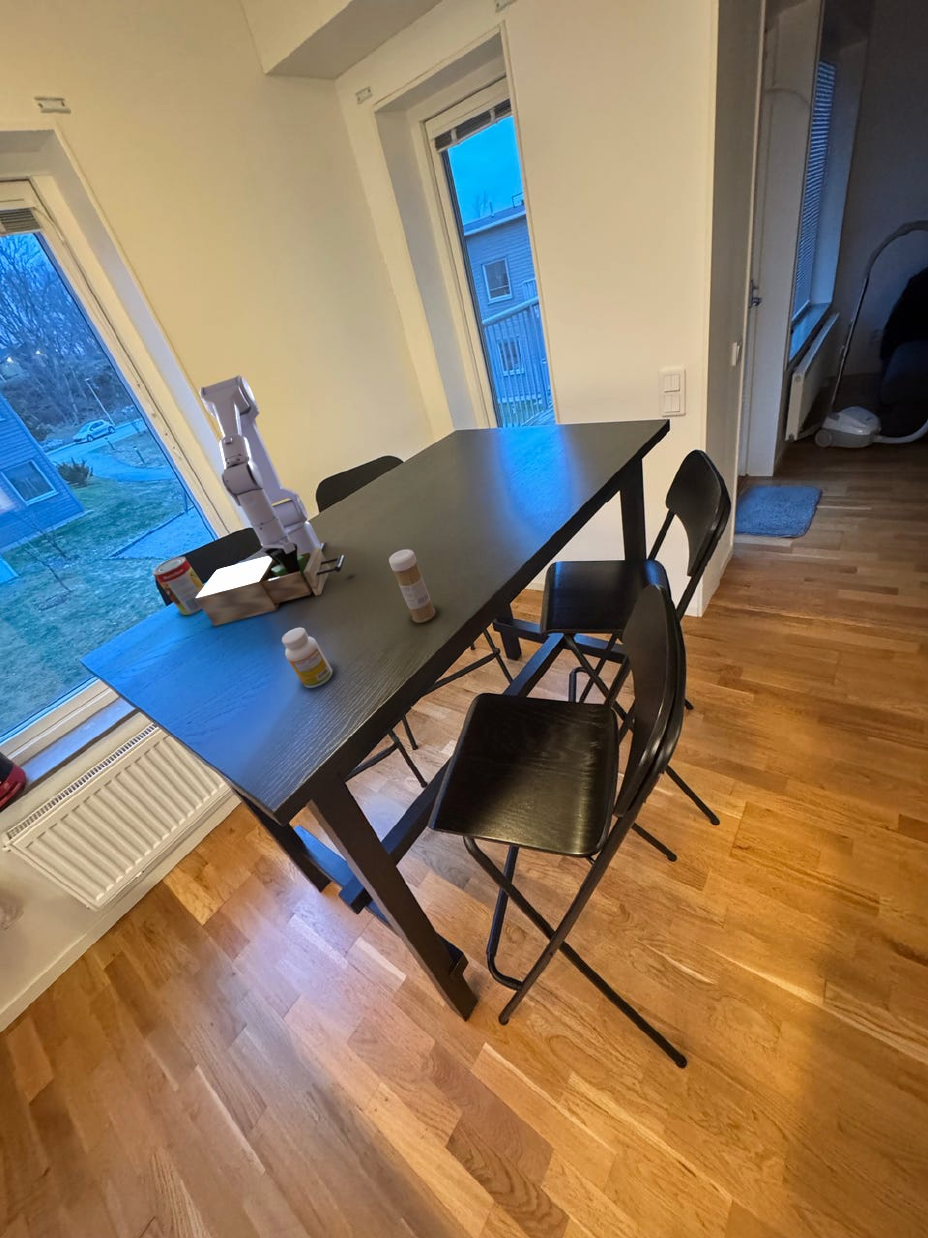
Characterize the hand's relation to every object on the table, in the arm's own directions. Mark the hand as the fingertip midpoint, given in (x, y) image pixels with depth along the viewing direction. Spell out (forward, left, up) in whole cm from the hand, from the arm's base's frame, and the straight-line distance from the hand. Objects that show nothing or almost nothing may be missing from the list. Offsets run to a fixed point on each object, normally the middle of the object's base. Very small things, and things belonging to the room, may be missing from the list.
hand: (293, 573), depth 111 cm
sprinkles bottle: (+23, +31, -5) cm, 39 cm away
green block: (0, 0, -1) cm, 1 cm away
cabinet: (0, -12, -5) cm, 13 cm away
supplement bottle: (+34, +12, -5) cm, 37 cm away
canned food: (-7, -30, -5) cm, 32 cm away
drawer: (0, +2, -4) cm, 4 cm away
